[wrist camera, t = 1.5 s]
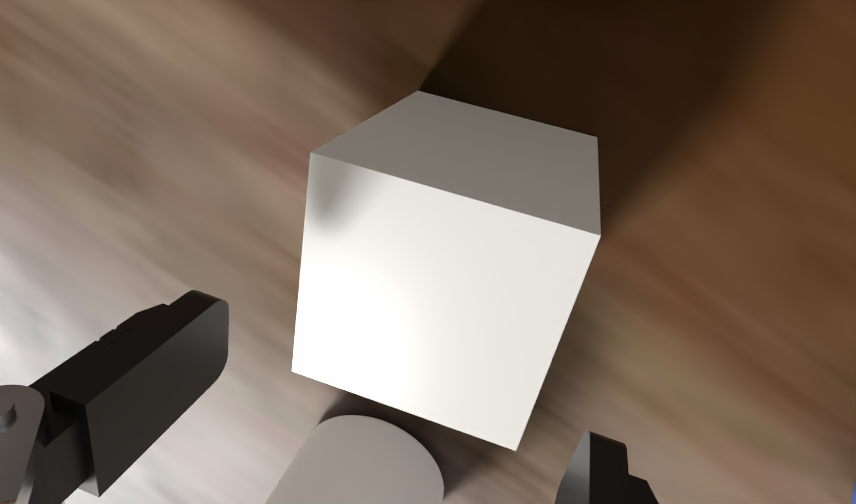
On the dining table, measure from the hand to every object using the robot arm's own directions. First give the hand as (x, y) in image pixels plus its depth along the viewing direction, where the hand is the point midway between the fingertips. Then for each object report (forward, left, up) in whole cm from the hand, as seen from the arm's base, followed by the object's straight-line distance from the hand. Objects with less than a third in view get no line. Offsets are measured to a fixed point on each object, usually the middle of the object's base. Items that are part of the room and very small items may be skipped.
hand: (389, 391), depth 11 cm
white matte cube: (0, 0, -11) cm, 11 cm away
